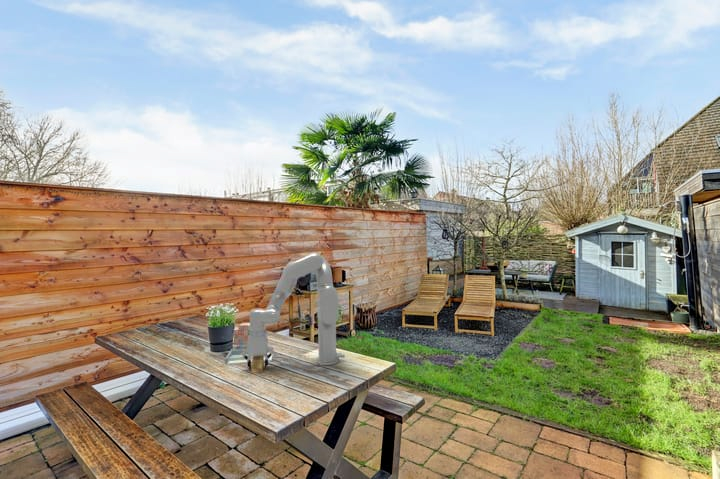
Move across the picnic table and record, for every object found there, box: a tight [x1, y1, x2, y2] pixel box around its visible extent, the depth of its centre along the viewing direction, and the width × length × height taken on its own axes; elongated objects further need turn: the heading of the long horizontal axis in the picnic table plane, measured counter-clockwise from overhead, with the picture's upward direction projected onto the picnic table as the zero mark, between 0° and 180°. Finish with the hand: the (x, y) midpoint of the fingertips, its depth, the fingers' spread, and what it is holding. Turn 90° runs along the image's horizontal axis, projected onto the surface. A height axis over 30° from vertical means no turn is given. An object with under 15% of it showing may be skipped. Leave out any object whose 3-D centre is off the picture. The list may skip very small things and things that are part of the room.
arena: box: [224, 346, 274, 365], centre depth 190 cm, size 24×14×3 cm, turn 100°
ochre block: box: [251, 355, 265, 374], centre depth 174 cm, size 5×10×6 cm, turn 10°
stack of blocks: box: [233, 322, 250, 345], centre depth 219 cm, size 21×6×12 cm, turn 85°
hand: (257, 367), depth 174 cm, fingers open, 7 cm apart
